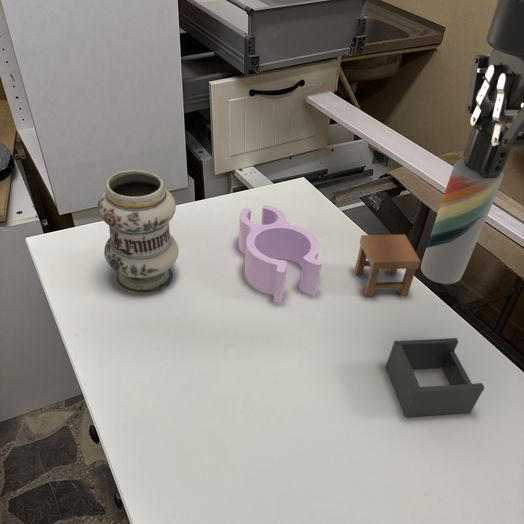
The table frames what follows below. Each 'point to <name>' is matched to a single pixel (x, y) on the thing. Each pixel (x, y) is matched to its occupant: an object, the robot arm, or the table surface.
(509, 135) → the robot arm
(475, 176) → the lotion bottle
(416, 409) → the dark grey open box
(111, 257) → the apothecary jar
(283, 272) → the clip
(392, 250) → the stool
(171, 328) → the table surface
